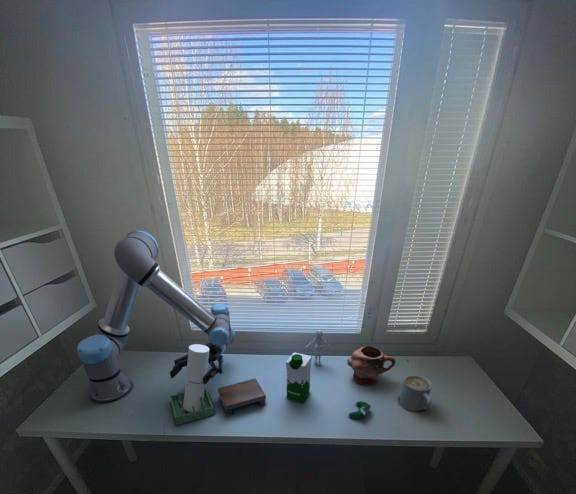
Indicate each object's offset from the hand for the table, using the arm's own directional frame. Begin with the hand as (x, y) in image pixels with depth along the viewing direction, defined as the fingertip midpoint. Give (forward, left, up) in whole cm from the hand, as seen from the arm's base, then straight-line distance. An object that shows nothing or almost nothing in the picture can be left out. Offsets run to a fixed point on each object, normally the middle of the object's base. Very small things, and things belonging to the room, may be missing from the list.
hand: (187, 378), depth 119 cm
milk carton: (+11, +40, -14) cm, 44 cm away
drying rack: (+1, -1, -14) cm, 14 cm away
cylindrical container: (+1, 0, -13) cm, 13 cm away
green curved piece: (+30, +57, -14) cm, 66 cm away
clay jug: (+13, +73, -14) cm, 76 cm away
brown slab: (+5, +18, -14) cm, 24 cm away
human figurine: (-6, +58, -14) cm, 61 cm away
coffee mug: (+35, +79, -14) cm, 88 cm away
